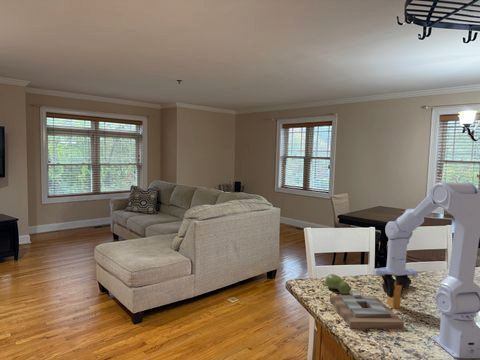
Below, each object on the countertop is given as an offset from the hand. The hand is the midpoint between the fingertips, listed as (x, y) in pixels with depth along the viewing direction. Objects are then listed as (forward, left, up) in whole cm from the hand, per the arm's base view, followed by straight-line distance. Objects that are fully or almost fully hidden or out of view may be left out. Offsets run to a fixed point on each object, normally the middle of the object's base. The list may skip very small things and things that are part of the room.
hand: (393, 296), depth 111 cm
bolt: (+14, -10, -4) cm, 17 cm away
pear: (+12, +15, -3) cm, 19 cm away
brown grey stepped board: (-6, +13, -3) cm, 15 cm away
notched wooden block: (0, 0, -3) cm, 3 cm away
